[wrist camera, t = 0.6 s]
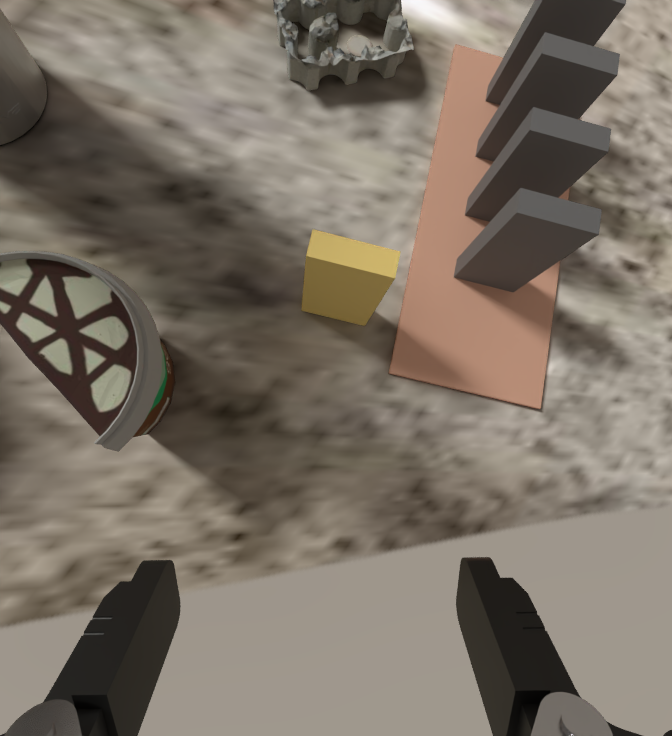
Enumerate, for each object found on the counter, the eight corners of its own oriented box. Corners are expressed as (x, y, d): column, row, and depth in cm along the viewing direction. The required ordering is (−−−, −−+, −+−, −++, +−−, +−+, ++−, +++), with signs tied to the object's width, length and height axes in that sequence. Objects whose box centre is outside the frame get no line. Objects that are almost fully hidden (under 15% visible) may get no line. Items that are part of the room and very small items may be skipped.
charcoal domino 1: (540, 116, 38) (625, 4, 29) (485, 100, 38) (552, -18, 28) (542, 100, 39) (627, -16, 29) (488, 85, 38) (555, -38, 29)
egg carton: (389, 11, 40) (401, -38, 36) (408, 84, 39) (422, 42, 35) (271, 20, 38) (269, -30, 34) (287, 97, 37) (287, 54, 33)
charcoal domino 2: (531, 171, 37) (617, 75, 28) (475, 156, 37) (541, 53, 27) (534, 155, 38) (619, 54, 28) (478, 140, 37) (544, 32, 28)
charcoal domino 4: (513, 292, 35) (598, 234, 26) (453, 277, 35) (516, 212, 25) (516, 274, 36) (601, 209, 26) (456, 258, 35) (520, 187, 26)
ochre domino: (364, 326, 34) (394, 278, 24) (301, 310, 34) (306, 255, 24) (368, 306, 34) (400, 251, 25) (306, 291, 34) (312, 229, 24)
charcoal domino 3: (522, 230, 36) (608, 151, 27) (464, 215, 36) (529, 129, 26) (525, 213, 37) (611, 128, 27) (467, 197, 36) (533, 106, 27)
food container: (229, 390, 32) (202, 367, 22) (161, 449, 31) (102, 452, 21) (118, 269, 33) (45, 194, 23) (48, 322, 32) (-61, 268, 22)
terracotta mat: (537, 409, 34) (540, 408, 34) (388, 373, 34) (389, 372, 33) (581, 84, 40) (583, 81, 40) (454, 48, 39) (455, 44, 39)
